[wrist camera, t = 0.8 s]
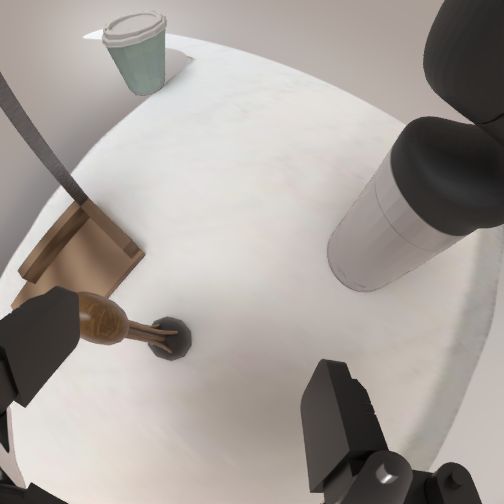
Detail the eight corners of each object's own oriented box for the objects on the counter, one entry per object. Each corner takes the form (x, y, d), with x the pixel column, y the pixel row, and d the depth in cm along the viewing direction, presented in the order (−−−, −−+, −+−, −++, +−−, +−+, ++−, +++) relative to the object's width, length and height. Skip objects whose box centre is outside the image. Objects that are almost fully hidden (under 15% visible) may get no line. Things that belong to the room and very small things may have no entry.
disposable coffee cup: (168, 64, 47) (157, 1, 32) (184, 91, 44) (173, 18, 29) (117, 83, 45) (97, 22, 30) (126, 113, 42) (101, 43, 27)
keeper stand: (94, 206, 35) (-13, 51, 10) (145, 255, 33) (13, 70, 8) (14, 306, 30) (-135, 233, 4) (54, 366, 28) (-134, 336, 2)
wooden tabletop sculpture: (137, 349, 30) (18, 331, 11) (147, 310, 31) (43, 249, 12) (186, 365, 29) (107, 377, 11) (196, 325, 31) (134, 278, 12)
